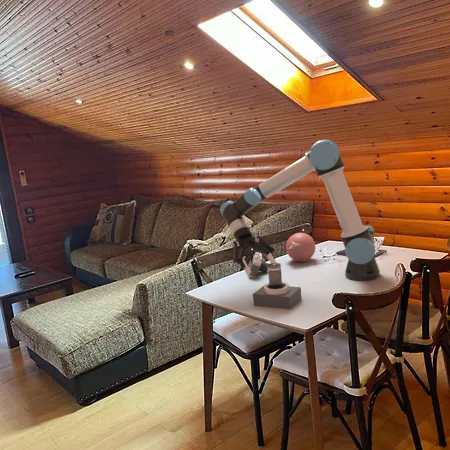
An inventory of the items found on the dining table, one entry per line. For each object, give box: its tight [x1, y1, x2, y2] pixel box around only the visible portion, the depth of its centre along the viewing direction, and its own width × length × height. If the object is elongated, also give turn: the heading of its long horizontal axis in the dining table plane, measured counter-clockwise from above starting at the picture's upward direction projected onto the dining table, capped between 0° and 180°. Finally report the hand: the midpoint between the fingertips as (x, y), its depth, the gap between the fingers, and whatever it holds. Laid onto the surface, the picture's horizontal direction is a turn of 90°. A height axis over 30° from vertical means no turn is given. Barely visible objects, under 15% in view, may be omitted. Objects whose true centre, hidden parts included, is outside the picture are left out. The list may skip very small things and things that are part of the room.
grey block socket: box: [252, 281, 303, 310], centre depth 182 cm, size 16×12×7 cm
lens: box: [267, 262, 283, 289], centre depth 181 cm, size 6×6×11 cm
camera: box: [249, 251, 270, 279], centre depth 224 cm, size 9×16×10 cm, turn 176°
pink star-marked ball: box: [285, 232, 316, 263], centre depth 236 cm, size 15×20×15 cm
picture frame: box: [335, 249, 388, 258], centre depth 241 cm, size 16×2×21 cm
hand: (262, 270), depth 188 cm, fingers open, 13 cm apart
